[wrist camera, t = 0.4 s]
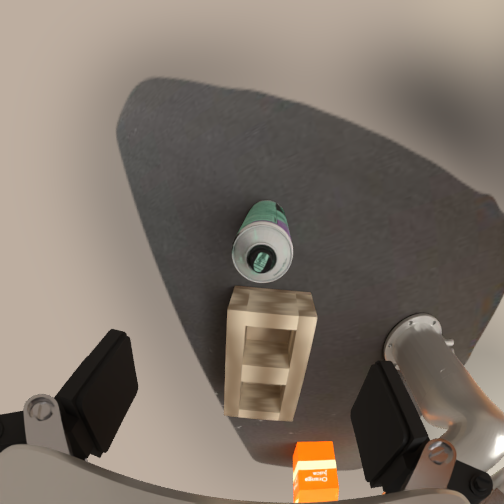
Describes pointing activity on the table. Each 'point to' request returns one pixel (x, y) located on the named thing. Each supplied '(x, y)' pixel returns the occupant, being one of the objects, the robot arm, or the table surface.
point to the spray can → (263, 244)
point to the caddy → (267, 351)
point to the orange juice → (314, 472)
